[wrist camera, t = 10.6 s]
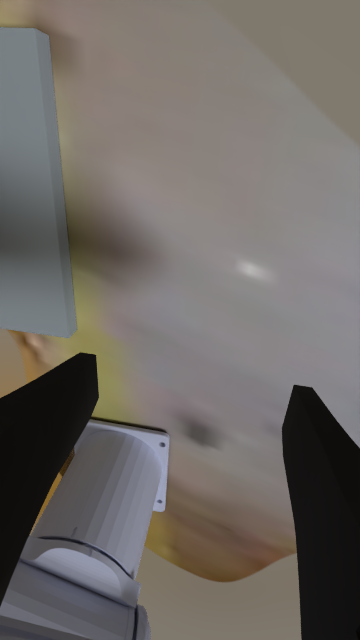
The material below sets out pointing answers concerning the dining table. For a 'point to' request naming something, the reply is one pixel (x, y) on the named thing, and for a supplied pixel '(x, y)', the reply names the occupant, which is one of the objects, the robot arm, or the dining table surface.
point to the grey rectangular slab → (32, 192)
